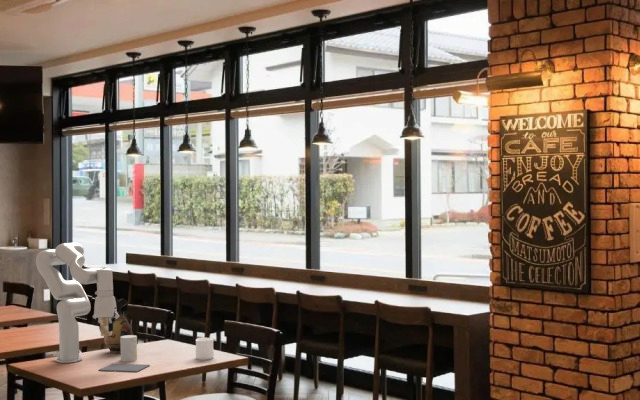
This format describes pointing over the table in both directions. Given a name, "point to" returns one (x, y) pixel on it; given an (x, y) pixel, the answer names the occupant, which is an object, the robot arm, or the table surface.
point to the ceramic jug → (118, 329)
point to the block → (105, 326)
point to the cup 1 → (128, 348)
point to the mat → (124, 367)
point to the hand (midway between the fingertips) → (106, 330)
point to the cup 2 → (204, 348)
